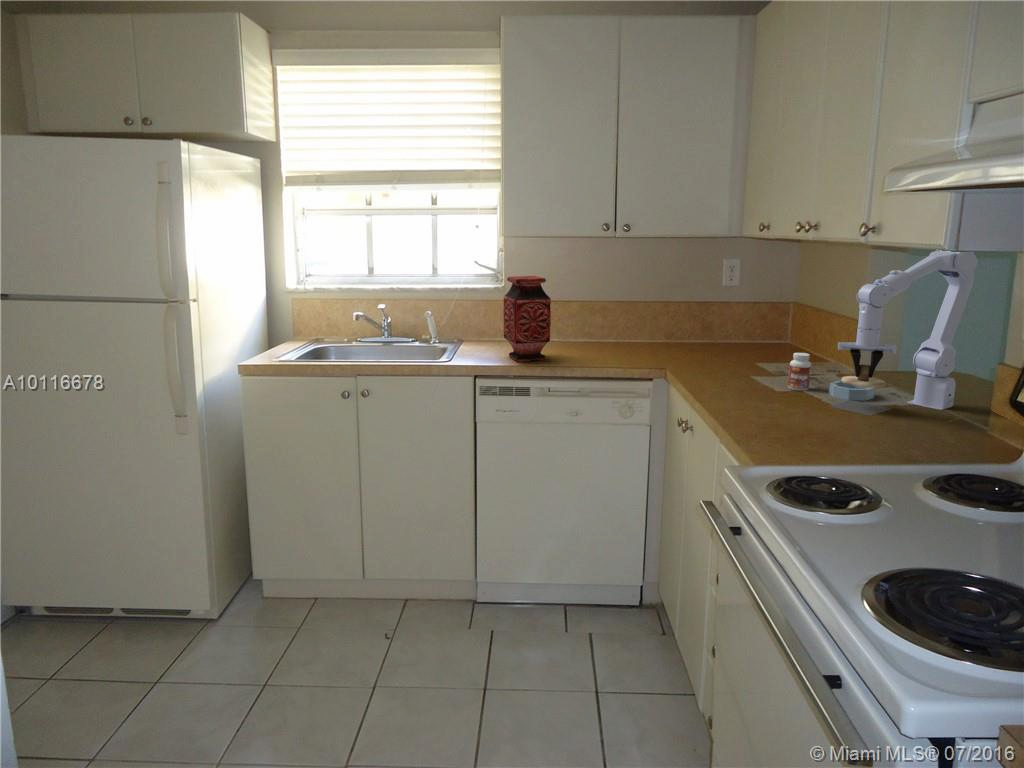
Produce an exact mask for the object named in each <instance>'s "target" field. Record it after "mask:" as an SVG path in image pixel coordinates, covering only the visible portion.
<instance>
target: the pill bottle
mask: <svg viewBox="0 0 1024 768" xmlns="http://www.w3.org/2000/svg"><path fill="white" fill-rule="evenodd" d="M810 355H811V354H809V353H806V352H794V353H793V355H792V358H793V359H792V360H791V361H790V362H789V369H788V378H787V379H788V382H787V387H788V389H789V390H792V391H798V392H800V391H802V392H803V391H808V390H809V389H810V380H811V371H812V362H811V361H809V360H810Z"/></svg>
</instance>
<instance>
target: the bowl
mask: <svg viewBox="0 0 1024 768" xmlns="http://www.w3.org/2000/svg"><path fill="white" fill-rule="evenodd" d="M875 390H876V388H867V387H858V386H852V385H848V384H845V383H843V382H842V381H841V380H836V381H832V382H829V388H828V394H829V395H830V396H832V397H833V398H838V399H841V400H845V401H849V400H854V401H860V402H863V401H869V400H872V399H874V398H875V392H876V391H875Z"/></svg>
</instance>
